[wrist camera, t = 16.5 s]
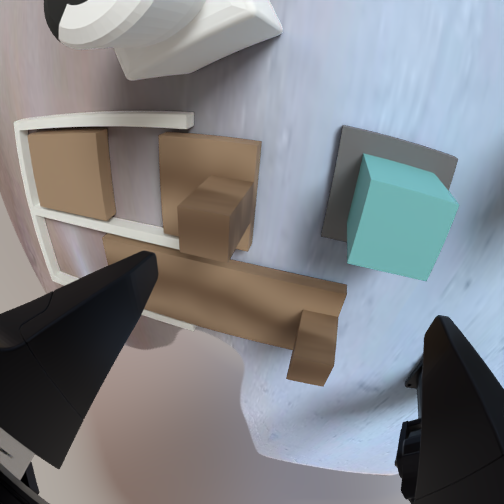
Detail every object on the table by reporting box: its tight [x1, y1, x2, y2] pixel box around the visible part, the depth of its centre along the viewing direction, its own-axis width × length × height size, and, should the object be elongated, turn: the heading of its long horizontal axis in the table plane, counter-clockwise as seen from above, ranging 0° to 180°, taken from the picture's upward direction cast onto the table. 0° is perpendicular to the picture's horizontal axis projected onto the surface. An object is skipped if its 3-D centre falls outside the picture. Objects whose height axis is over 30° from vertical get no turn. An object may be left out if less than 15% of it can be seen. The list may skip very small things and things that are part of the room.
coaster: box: [321, 125, 458, 242], centre depth 19 cm, size 8×8×1 cm
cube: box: [347, 153, 459, 281], centre depth 17 cm, size 5×5×5 cm
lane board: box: [14, 111, 197, 331], centre depth 27 cm, size 21×21×2 cm
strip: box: [102, 233, 347, 386], centre depth 25 cm, size 8×22×6 cm, turn 85°
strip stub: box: [159, 132, 262, 263], centre depth 20 cm, size 8×7×6 cm
